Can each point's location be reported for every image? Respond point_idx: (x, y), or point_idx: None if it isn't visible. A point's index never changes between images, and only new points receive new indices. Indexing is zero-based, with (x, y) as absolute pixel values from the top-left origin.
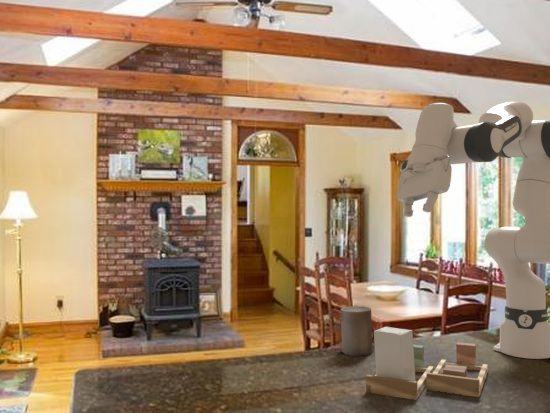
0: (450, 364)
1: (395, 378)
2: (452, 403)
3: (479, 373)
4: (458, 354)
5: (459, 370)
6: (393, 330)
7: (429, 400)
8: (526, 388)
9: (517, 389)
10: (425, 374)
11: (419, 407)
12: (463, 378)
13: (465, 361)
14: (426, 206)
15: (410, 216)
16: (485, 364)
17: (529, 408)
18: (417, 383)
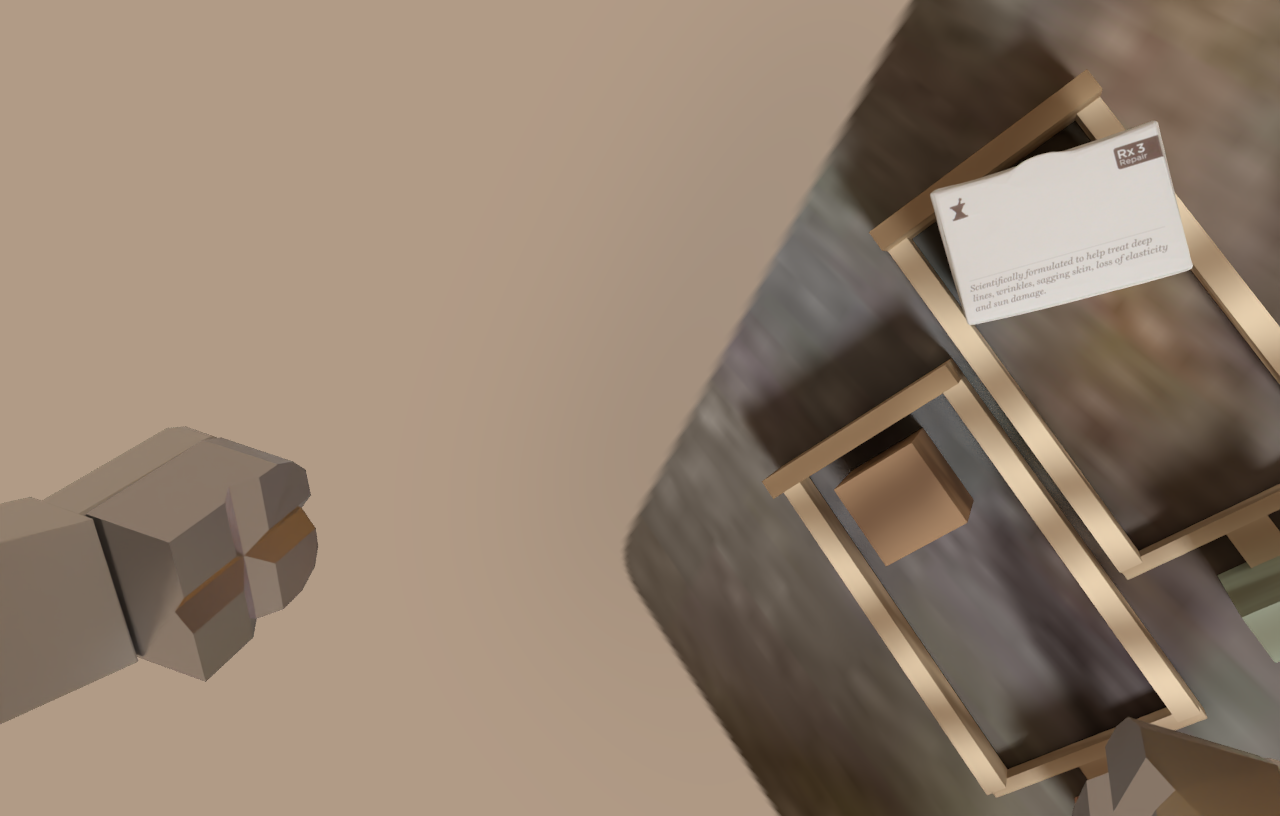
0: (1153, 720)
1: None
2: (787, 335)
3: (908, 643)
4: None
5: (862, 493)
6: (1041, 219)
7: (855, 282)
8: (764, 692)
9: (772, 657)
10: (1035, 436)
11: (818, 194)
12: (810, 450)
13: None
14: (119, 459)
15: (1085, 800)
16: (991, 785)
17: (636, 517)
18: (952, 308)
